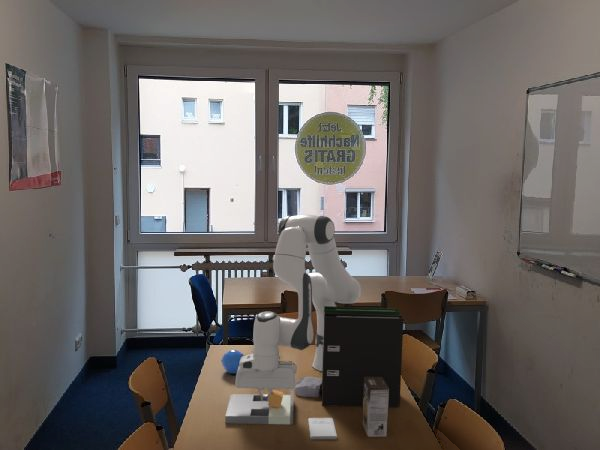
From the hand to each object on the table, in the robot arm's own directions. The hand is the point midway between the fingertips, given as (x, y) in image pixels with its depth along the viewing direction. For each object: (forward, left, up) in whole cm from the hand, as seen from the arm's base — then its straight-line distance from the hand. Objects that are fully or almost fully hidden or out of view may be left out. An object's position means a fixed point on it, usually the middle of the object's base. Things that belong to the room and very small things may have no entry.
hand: (265, 400), depth 191 cm
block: (-3, 0, -1) cm, 3 cm away
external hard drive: (-19, +12, -5) cm, 23 cm away
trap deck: (+1, 0, -4) cm, 5 cm away
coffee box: (-36, +11, -5) cm, 38 cm away
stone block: (-15, -19, -5) cm, 25 cm away
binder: (-34, -12, -5) cm, 36 cm away
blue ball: (+14, -36, -5) cm, 39 cm away
